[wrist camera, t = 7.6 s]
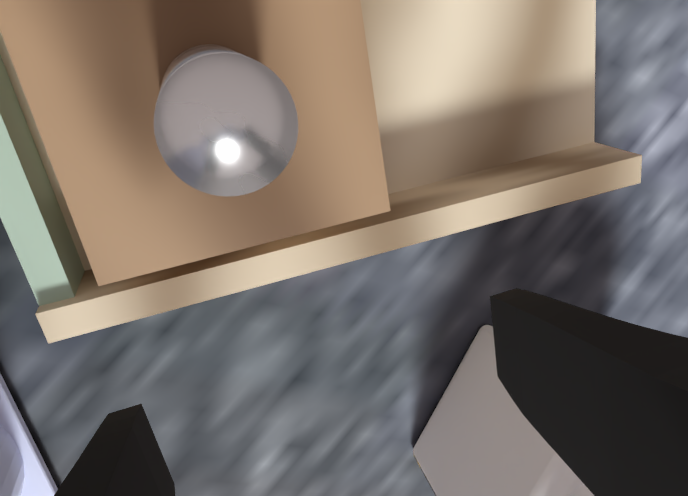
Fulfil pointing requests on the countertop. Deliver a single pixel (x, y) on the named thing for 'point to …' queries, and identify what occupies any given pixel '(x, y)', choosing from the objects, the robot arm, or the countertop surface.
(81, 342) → the countertop surface
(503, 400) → the medicine bottle
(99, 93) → the block with knob
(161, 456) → the robot arm
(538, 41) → the bay
